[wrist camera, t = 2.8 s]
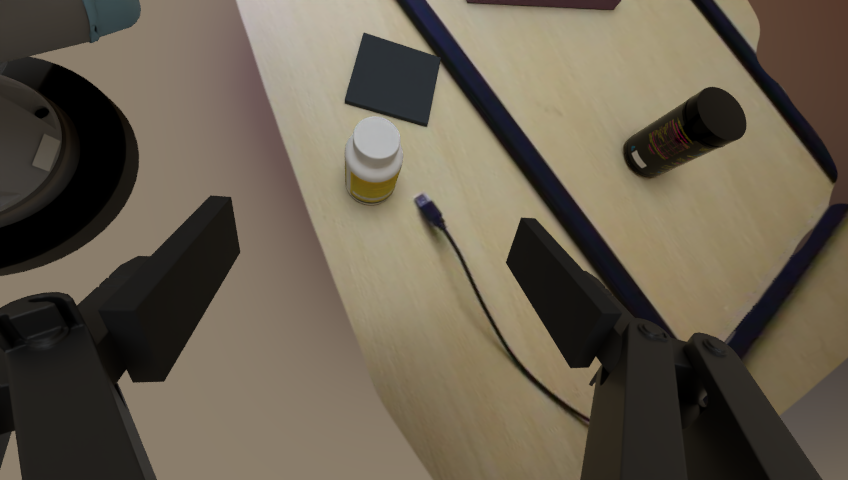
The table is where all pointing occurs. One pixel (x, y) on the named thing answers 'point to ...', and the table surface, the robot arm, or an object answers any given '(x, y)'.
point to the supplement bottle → (373, 160)
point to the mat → (393, 80)
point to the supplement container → (686, 133)
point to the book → (557, 3)
